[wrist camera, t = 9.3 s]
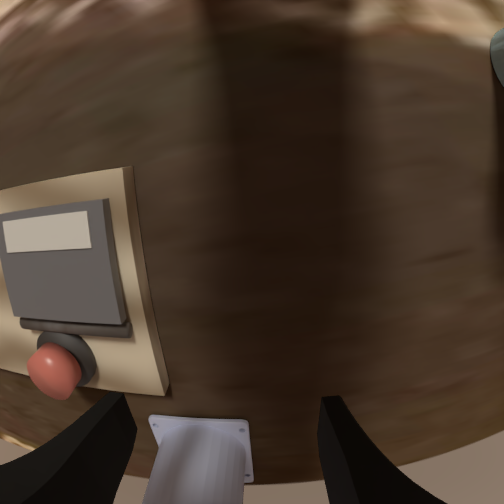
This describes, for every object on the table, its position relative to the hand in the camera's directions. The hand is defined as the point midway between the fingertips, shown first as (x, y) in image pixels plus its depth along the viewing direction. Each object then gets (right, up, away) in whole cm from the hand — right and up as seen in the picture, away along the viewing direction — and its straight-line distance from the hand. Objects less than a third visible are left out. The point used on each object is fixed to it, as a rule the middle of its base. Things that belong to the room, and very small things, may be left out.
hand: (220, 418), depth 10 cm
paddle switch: (-11, +5, +7) cm, 14 cm away
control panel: (-15, +3, +9) cm, 18 cm away
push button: (-12, -2, +8) cm, 15 cm away
